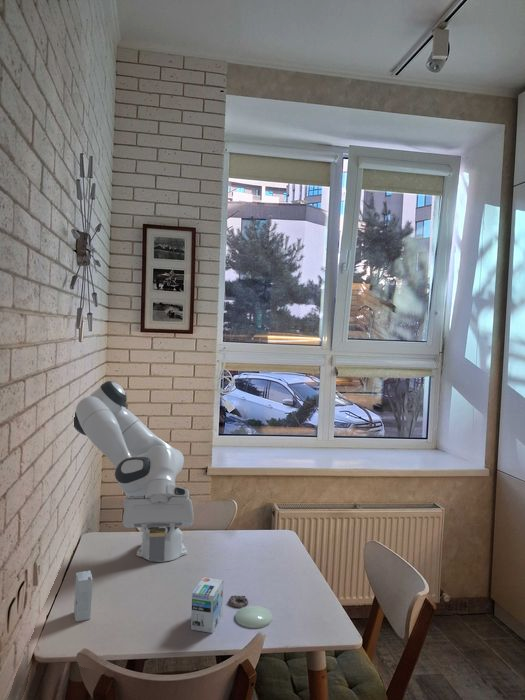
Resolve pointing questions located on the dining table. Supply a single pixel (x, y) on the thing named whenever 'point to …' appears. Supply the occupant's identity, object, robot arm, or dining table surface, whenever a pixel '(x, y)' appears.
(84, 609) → the skincare box
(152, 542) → the tea tin
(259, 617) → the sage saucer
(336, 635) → the dining table surface
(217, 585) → the light bulb box
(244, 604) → the donut
